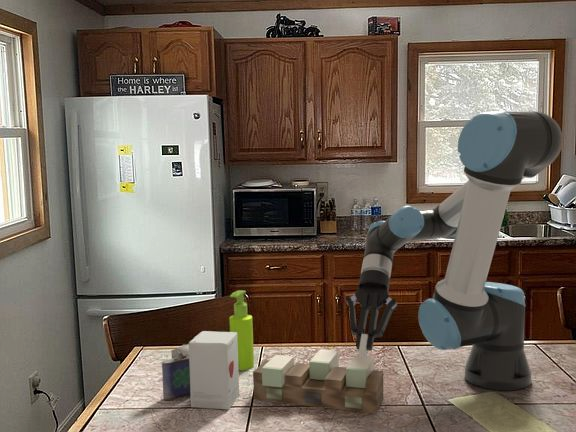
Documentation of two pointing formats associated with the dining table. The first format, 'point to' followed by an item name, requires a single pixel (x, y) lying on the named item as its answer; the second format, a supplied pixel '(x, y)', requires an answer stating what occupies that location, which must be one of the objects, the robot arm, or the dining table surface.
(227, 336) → the supplement box
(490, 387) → the robot arm
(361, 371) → the button
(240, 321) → the soap dispenser
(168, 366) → the flask
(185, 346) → the bunny figurine
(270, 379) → the button
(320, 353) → the button middle
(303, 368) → the brown wooden slotted rack
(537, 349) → the dining table surface
